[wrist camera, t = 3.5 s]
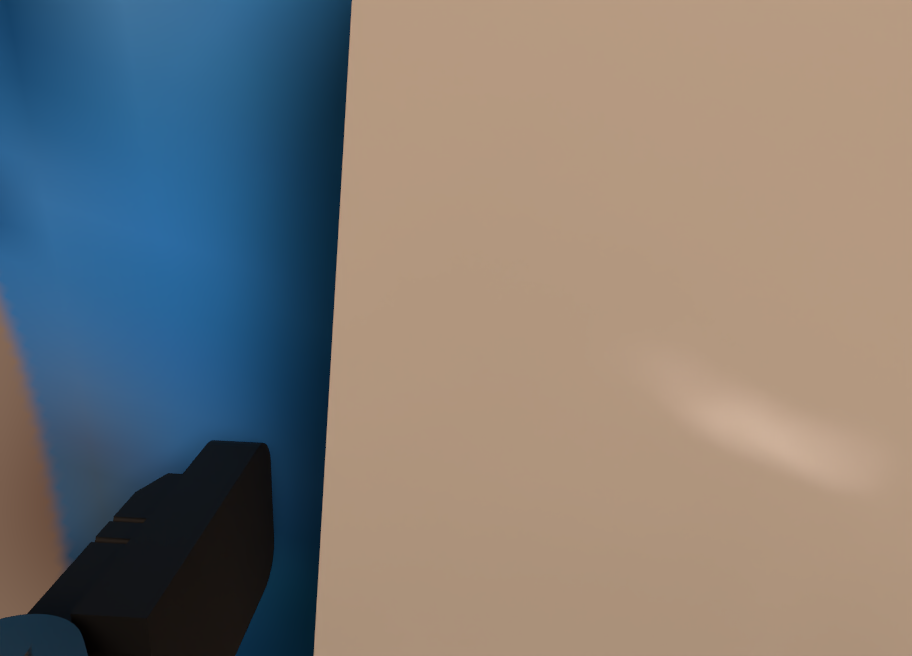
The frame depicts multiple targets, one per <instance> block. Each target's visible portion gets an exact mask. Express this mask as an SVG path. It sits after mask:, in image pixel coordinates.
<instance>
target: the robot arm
mask: <svg viewBox="0 0 912 656" xmlns="http://www.w3.org/2000/svg"><path fill="white" fill-rule="evenodd" d="M273 551H274V527H273V504H272V481H271V460H270V452H269V449H268V446H267V445H266V444H265V443H253V442H235V441H217V440H212V441H210V442H209V443H208V444H207V445H206V446H205V447H204V448H203V450H202V451H201V452H200V453H199V455H198V456H197V457H196V458H195V460H194V461H193V462H192V463H191V464H190V466H189V467H188V468H187V469H186V471H185V472H184V473H183V474H172V473H168V474H166V475H164V476H163V477H161V478H159V479H157V480H156V481H154V482H152V483H151V484H149V485H147V486H145V487H144V488H142V489H140V490H139V491H137V492H135V493H134V494H133V495H132V497H131V498H130V499H129V500H128V501H127V502H126V503H125V504H124V506H123V507H122V508H121V509H120V510H119V511H118V512H117V513H116V515H115V516H114V520H113V521H109V522H108V524H107V525H106V526H105V527H104V528H103V529H102V530H101V531H100V533H99V534H98V535H97V536H96V540H95V542H91V543H90V544H89V545H88V546H87V547H86V548H85V549H84V551H83V552H82V553H81V554H80V555H79V556H78V557H77V558H76V560H75V561H74V562H73V563H72V564H71V565H70V566H69V567H68V569H67V570H66V571H65V572H64V573H63V574H62V575H61V576H60V578H59V579H58V580H57V581H56V582H55V583H54V584H53V585H52V587H51V588H50V589H49V590H48V591H47V592H46V593H45V595H44V596H43V597H42V598H41V599H40V600H39V601H38V602H37V603H36V605H35V606H34V607H33V608H32V609H31V610H30V611H29V612H28V614H25V615H17V616H11V617H6V618H2V619H0V656H235V655H236V652H237V650H238V648H239V646H240V644H241V641H242V639H243V637H244V635H245V632H246V630H247V628H248V626H249V623H250V621H251V619H252V617H253V615H254V612H255V610H256V608H257V606H258V603H259V601H260V599H261V597H262V594H263V592H264V590H265V588H266V585H267V582H268V579H269V575H270V571H271V566H272V560H273Z"/></svg>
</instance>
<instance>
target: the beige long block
mask: <svg viewBox="0 0 912 656" xmlns="http://www.w3.org/2000/svg"><path fill="white" fill-rule="evenodd" d="M314 656H912V0H352V9H351V26H350V43H349V61H348V78H347V95H346V112H345V129H344V146H343V163H342V180H341V197H340V214H339V232H338V249H337V266H336V283H335V300H334V317H333V334H332V351H331V368H330V386H329V403H328V420H327V437H326V454H325V471H324V488H323V505H322V522H321V539H320V557H319V574H318V591H317V608H316V625H315V642H314Z"/></svg>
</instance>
